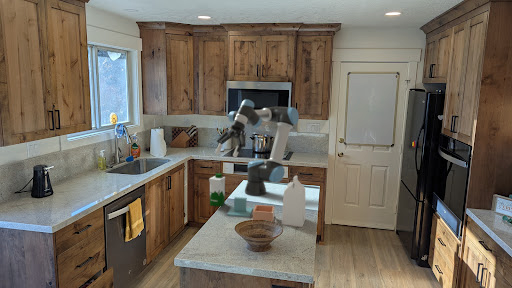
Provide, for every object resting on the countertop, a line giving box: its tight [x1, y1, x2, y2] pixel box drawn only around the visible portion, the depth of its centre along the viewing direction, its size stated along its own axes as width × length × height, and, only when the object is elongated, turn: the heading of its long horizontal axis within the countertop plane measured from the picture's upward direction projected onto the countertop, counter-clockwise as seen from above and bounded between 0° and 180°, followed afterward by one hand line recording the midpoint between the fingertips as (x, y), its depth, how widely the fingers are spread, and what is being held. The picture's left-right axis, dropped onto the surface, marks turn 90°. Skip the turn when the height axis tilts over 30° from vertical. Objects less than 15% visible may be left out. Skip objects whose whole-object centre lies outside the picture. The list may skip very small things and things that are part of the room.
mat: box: [224, 206, 254, 219], centre depth 209 cm, size 16×16×1 cm
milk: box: [281, 175, 306, 228], centre depth 196 cm, size 12×12×26 cm
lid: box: [227, 196, 254, 217], centre depth 209 cm, size 13×13×9 cm
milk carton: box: [208, 172, 226, 208], centre depth 221 cm, size 9×9×20 cm
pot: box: [252, 204, 275, 223], centre depth 199 cm, size 11×11×7 cm
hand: (225, 155), depth 200 cm, fingers open, 13 cm apart
